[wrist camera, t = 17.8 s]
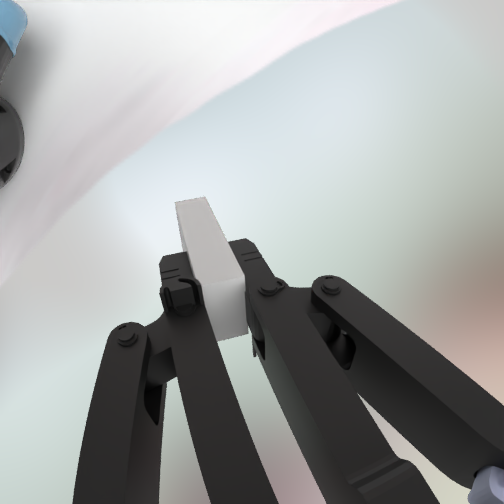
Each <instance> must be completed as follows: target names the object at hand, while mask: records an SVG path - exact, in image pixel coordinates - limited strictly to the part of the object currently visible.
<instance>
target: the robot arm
mask: <svg viewBox="0 0 504 504" xmlns="http://www.w3.org/2000/svg"><path fill="white" fill-rule="evenodd" d="M26 26H27V15H26V13H25V11H24V10H23V8H22V7H20V6H19V5H18V4H17V3H15V2H14V1H12V0H0V83H1V81H2V78H3V76H4V74H5V71H6V69H7V67H8V64H9V62H10V60H11V58H13V57H14V56H15V54H16V48H17V45H18V43H19V41H20V39H21V37H22V35H23V33H24V31H25V29H26ZM23 149H24V133H23V127H22V124H21V121H20V118H19V116H18V114H17V112H16V111H15V109H14V108H13V107H12V106H11V104H9V103H8V102H7V101H6V100H4V99H3V98H1V97H0V189H1V188H2V187H3V186H4V185H5V184H6V183H7V182H8V181H9V180H10V179H11V178H12V177H13V175H14V174H15V172H16V171H17V169H18V167H19V164H20V162H21V159H22V155H23ZM175 205H176V212H177V218H178V225H179V231H180V236H181V242H182V248H183V252H181V253H176V254H171V255H166V256H163V257H162V259H161V261H160V263H159V267H160V275H161V282H162V287H161V288H160V293H159V294H160V297H161V301H162V305H163V308H164V312H163V314H162V315H161V317H160V318H158V319H157V320H156V321H154V322H153V323H151V324H149V325H147V326H145V327H144V326H143V325H141V324H139V323H135V322H129V323H123V324H121V325H119V326H117V327H116V328H115V329H113V330H112V331H111V333H110V335H109V337H108V339H107V343H106V346H105V350H104V353H103V357H102V360H101V364H100V368H99V372H98V375H97V379H96V383H95V387H94V391H93V395H92V400H91V404H90V408H89V412H88V417H87V421H86V426H85V431H84V436H83V441H82V446H81V451H80V457H79V463H78V469H77V475H76V481H75V488H74V496H73V504H159V485H160V484H159V482H160V465H161V448H162V433H163V421H164V409H165V398H166V388H167V382H168V381H170V380H171V379H173V378H175V377H177V378H178V383H179V388H180V392H181V396H182V401H183V405H184V409H185V413H186V417H187V421H188V425H189V429H190V433H191V437H192V441H193V444H194V448H195V452H196V455H197V459H198V463H199V466H200V470H201V473H202V476H203V480H204V483H205V486H206V489H207V493H208V496H209V499H210V502H211V504H279V503H278V501H277V499H276V496H275V494H274V492H273V489H272V487H271V484H270V482H269V480H268V477H267V475H266V472H265V470H264V468H263V466H262V463H261V460H260V458H259V455H258V453H257V450H256V448H255V445H254V443H253V440H252V437H251V435H250V432H249V430H248V427H247V424H246V422H245V419H244V417H243V414H242V411H241V409H240V406H239V403H238V400H237V398H236V395H235V392H234V389H233V387H232V384H231V381H230V378H229V375H228V373H227V370H226V367H225V364H224V361H223V358H222V355H221V352H220V349H219V346H218V343H217V342H218V341H221V340H225V339H230V338H234V337H238V336H242V335H245V334H248V326H249V328H250V330H251V333H252V345H253V355H254V357H256V353H257V355H258V357H259V359H260V362H261V364H262V366H263V368H264V371H265V373H266V375H267V378H268V379H269V382H270V384H271V386H272V389H273V391H274V393H275V395H276V397H277V400H278V402H279V404H280V406H281V409H282V411H283V413H284V415H285V417H286V419H287V422H288V424H289V426H290V428H291V430H292V432H293V435H294V436H295V439H296V441H297V443H298V445H299V447H300V449H301V452H302V454H303V456H304V458H305V460H306V462H307V464H308V466H309V468H310V470H311V472H312V474H313V476H314V479H315V481H316V483H317V485H318V486H319V489H320V491H321V493H322V495H323V497H324V499H325V501H326V504H440V503H439V502H438V500H437V498H436V497H435V495H434V493H433V492H432V491H431V489H430V487H429V485H428V484H427V482H426V481H425V479H424V478H423V476H422V474H421V473H420V471H419V470H418V469H417V467H416V466H415V465H414V464H413V463H411V462H410V461H408V460H404V459H400V458H399V457H398V456H396V454H395V453H394V451H393V450H392V448H391V447H390V445H389V443H388V442H387V440H386V439H385V437H384V435H383V434H382V432H381V431H380V429H379V428H378V426H377V424H376V423H375V421H374V419H373V418H372V416H371V415H370V413H369V411H368V410H367V408H366V407H365V405H364V404H363V402H362V400H361V399H360V397H359V395H360V396H361V397H362V398H364V400H365V401H367V403H368V404H369V405H371V406H372V407H373V408H374V409H375V410H376V411H377V412H378V413H379V414H380V415H381V416H382V417H384V419H385V420H386V421H387V422H388V423H390V424H391V425H392V426H393V427H394V428H395V429H396V430H397V431H398V432H399V433H400V434H401V435H402V436H403V437H404V438H405V439H407V440H408V441H409V442H410V443H411V444H412V445H413V446H414V447H415V448H416V449H417V450H418V451H419V452H420V453H421V454H423V455H424V456H425V457H426V458H427V459H428V460H429V461H430V462H431V463H432V464H433V465H435V466H436V467H437V468H438V469H439V470H440V471H441V472H442V473H444V474H445V475H446V476H447V477H449V478H450V479H451V480H453V481H455V482H456V483H458V484H460V485H461V486H464V487H466V488H469V489H471V491H470V493H469V494H468V502H469V503H470V504H504V406H503V405H502V404H501V403H500V402H499V401H498V400H496V399H495V398H494V397H493V396H491V395H490V394H489V393H488V392H487V391H486V390H484V389H483V388H482V387H481V386H480V385H478V384H477V383H476V382H475V381H473V380H472V379H471V378H470V377H469V376H467V375H466V374H465V373H464V372H462V371H461V370H460V369H459V368H457V367H456V366H455V365H454V364H453V363H451V362H450V361H449V360H448V359H446V358H445V357H444V356H443V355H441V354H440V353H439V352H438V351H436V350H435V349H434V348H432V347H431V346H430V345H429V344H427V343H426V342H425V341H424V340H422V339H421V338H420V337H419V336H417V335H416V334H415V333H413V332H412V331H411V330H410V329H408V328H407V327H406V326H404V325H403V324H402V323H401V322H399V321H398V320H397V319H395V318H394V317H393V316H391V315H390V314H389V313H388V312H386V311H385V310H384V309H382V308H381V307H380V306H378V305H377V304H376V303H374V302H373V301H371V299H369V298H368V297H367V296H365V295H364V294H362V293H361V292H360V291H359V290H357V289H356V288H355V287H353V286H352V285H351V284H349V283H348V282H347V281H345V280H344V279H342V278H340V277H337V276H332V275H326V276H321V277H318V278H317V279H316V280H314V282H313V284H312V287H310V288H296V287H295V288H294V287H289V286H288V284H287V283H286V282H285V281H284V280H282V279H279V278H277V277H275V276H274V274H273V273H272V271H271V270H270V268H269V266H268V265H267V263H266V262H265V260H264V258H262V255H261V254H260V252H259V251H258V249H257V247H256V246H255V244H254V243H252V242H251V241H249V240H248V239H246V238H245V239H240V240H235V241H230V242H227V240H226V238H225V236H224V234H223V232H222V230H221V228H220V226H219V224H218V222H217V220H216V217H215V215H214V213H213V211H212V209H211V207H210V205H209V203H208V201H207V199H206V197H200V198H195V199H189V200H184V201H179V202H175ZM357 393H358V394H359V395H358V394H357Z"/></svg>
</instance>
